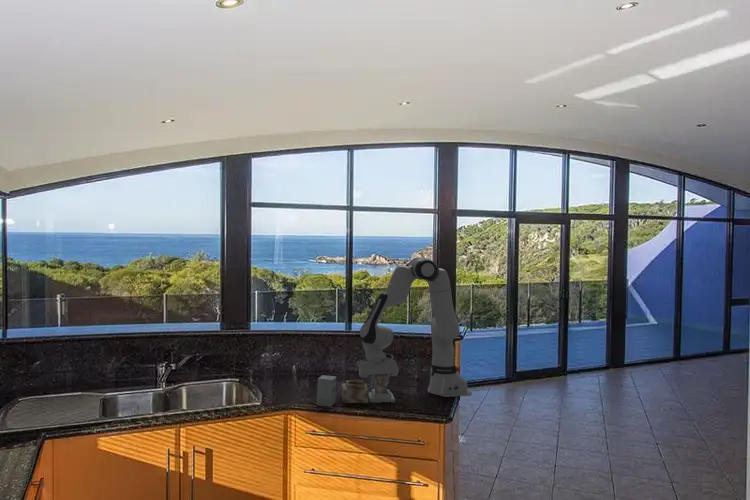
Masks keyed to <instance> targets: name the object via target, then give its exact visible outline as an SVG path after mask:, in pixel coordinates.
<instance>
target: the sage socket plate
mask: <svg viewBox="0 0 750 500" xmlns="http://www.w3.org/2000/svg"><path fill="white" fill-rule="evenodd" d="M368 402H369V403H381V404H382V402H385V403H386V402H388V403H389V402H391V403H393V404H394V403H396V398H395V397H394V394H393V393H392V392H391V391H390V389H388V388H387V394H378V393H377V392H376V388H372V389H371V391H369V397H368ZM391 403H390V404H391Z"/></svg>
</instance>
